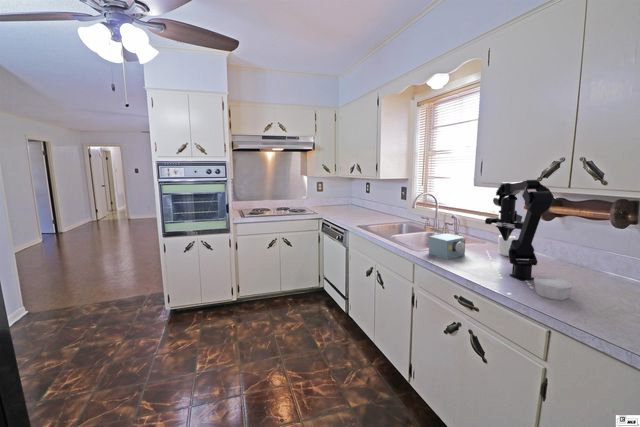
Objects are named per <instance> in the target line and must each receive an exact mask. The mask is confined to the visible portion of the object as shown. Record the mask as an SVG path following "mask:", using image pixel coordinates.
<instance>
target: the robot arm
mask: <svg viewBox="0 0 640 427" xmlns="http://www.w3.org/2000/svg"><path fill="white" fill-rule="evenodd" d="M530 190H532V191H530ZM534 190H535V191H534ZM521 192H522V195H521V196H522V198H523V201H524V205H525V208H526V214H525V217H524V221H522V219H523V216H522V215H520V214H518V212H517V210H516V202H517V201H518V197H517V195H519V194H520V193H521ZM554 200H555V198H554V195H553V193H552V192H551V190H550V188H548V187H546V186H545V185H543V184H542V183H541V182H540V181H539V180H538V179H525V180H523V181H505V182H504V181H503V182H501V183H500V184H499V187H498V189H497V190H496V191H495V196H494V197H493V199H492V202H493V204H494V205H495V206H497V207H500V210H498V214H500V217H493V216H492V217H486V219H485V220H484V223H485V225H486V224H487V225H492V224H496V225H495V228H497V229H498V231H499V234H500V235H502V237H503V239H504V241H507V240H508V238H509V236H510V235H511V234H512V232H513V231H514V230H516V229H517V230H520V232H519V236H518V239H515V240H512V243H511V246H510V249H509V256H508V260H509V264H511V265H512V267H511V268H512V269H511V273H510V274H509V276H510V277H513V278H514V279H517V280H519V281H528V280H534V278H535V277H533V276H532V271H533V266H537V265H538V259H537V256H536V254H535V247H534V246H533V241H534V238H535V235H536V232H537V230H538V226H539V223H540V221H541V218H542V216H543V214H544V213H546V212H548V210H549V209H550V208H551V207H552V204H553V203H554Z"/></svg>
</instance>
